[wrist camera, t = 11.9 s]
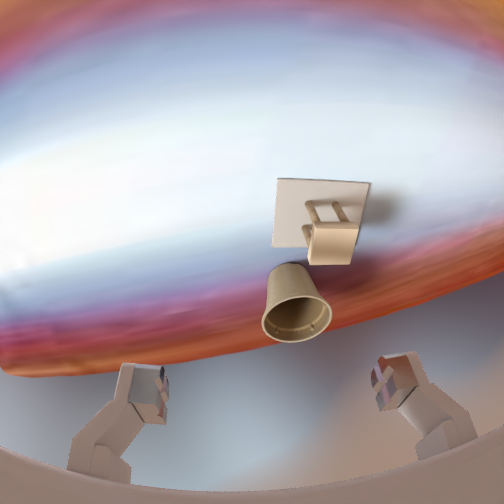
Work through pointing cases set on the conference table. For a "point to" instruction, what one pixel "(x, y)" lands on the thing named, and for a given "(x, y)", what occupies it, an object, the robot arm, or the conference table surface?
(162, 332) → the conference table surface
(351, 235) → the stool
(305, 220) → the mat
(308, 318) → the flower pot
